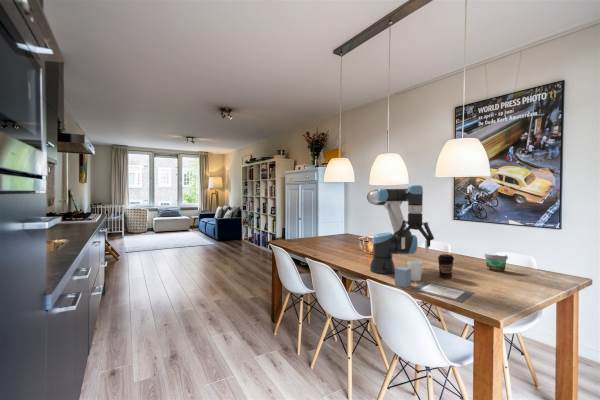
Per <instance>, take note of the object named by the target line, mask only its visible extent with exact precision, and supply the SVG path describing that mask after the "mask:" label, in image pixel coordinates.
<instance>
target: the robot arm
mask: <svg viewBox="0 0 600 400" xmlns="http://www.w3.org/2000/svg"><path fill="white" fill-rule="evenodd" d="M423 193H424V189H423V185H419V184H418V185H415V184H414V185H408V188H379V189H372V190H371V191H369V192H368V193H367V195H366V200H367V202H369V204H371V205H374V206H383V208H384V209H385V210H387V213H388V217H389V220H390V223H391V227H392V231H393V233H392V232H379V233H376V234H374V235H373V236H372V260H371V263H370V265H369V271H370V272H372V273H375V274H381V275H388V274H390V275H391V274H395V268H396V267H395V263H394V260H393V255H413V254H415V253H416V252H417V249H418V244H419V243H418V237H417V235H415V234H413V233H412V231H411V230H416V231H419V232H420V233H421V235H422V236H423V237H424V239H425V242H424V243H425V244H424V253H427V254H428V253H429V252H430V251H429V248H430V247H431V241H434V240H435V237H434V234H433V233H432V231H431V228H430V226H429V222H428V221H426V222H423V200H424V199H423V195H424V194H423ZM403 202H407V212H408V213H407V220H405V218H404V216H403V212H402V209H401V205H402V203H403ZM407 225H408V226H407ZM423 227H424V228H423ZM425 230H426V231H425Z"/></svg>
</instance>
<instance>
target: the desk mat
mask: <svg viewBox="0 0 600 400" xmlns="http://www.w3.org/2000/svg"><path fill="white" fill-rule="evenodd" d="M429 284H433V285H437V286H442V287H446V288H451V289H455V290H459V291H464V293H463V294H461V295H460V296H459V297H457V298H456V299H454V298H450V297H446V296H442V295H438V294H434V293H430V292H426V291H422V290H420V289H421V288H423V287H425V286H427V285H429ZM410 291H415V292H417V293H422V294H427V295H430V296H434V297H438V298H441V299H442V298H443V299H445V300H449V301H450V300H451V301H454V302H458V303H461V304H462V303H464V302H465V301H467V299H468V298H470V297H472V296H473V295H474V294H475V292H474V291H470V290H466V289H460V288H456V287H452V286H447V285H442V284H438V283H434V282H430V281H429V282H428V281H423V282H422V283H420V284H418V285H416V286H414V287H412V288H410Z"/></svg>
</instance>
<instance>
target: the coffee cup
mask: <svg viewBox="0 0 600 400" xmlns="http://www.w3.org/2000/svg"><path fill="white" fill-rule="evenodd" d="M453 256H454V255H452V254H449V253H448V254H443V253H440V254H439V255H438V256H437V259H438V270H439V278H441V279H447V280H449V279H450V280H451V279H453V277H452V276H453V274H452V273H453V268H454V261H455V257H453Z"/></svg>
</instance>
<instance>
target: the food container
mask: <svg viewBox="0 0 600 400" xmlns="http://www.w3.org/2000/svg"><path fill="white" fill-rule="evenodd" d="M483 256H484V257H485V262H486V264H485V265H486V270H488V271H490V272H493V273H494V272H495V273H504V272H505V271H506V267H507V266H506V264H507V260H508V259H509V257H508V255H499V254H488V253H484V255H483Z"/></svg>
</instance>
